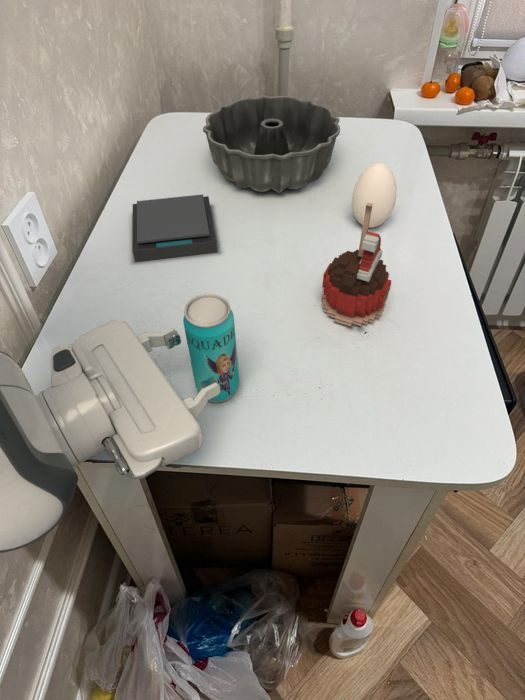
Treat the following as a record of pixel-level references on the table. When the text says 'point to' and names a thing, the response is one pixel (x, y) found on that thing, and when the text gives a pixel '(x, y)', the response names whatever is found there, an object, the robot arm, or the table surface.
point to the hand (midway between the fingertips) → (196, 358)
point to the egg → (374, 194)
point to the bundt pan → (271, 141)
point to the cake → (357, 281)
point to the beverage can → (212, 343)
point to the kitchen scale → (172, 228)
